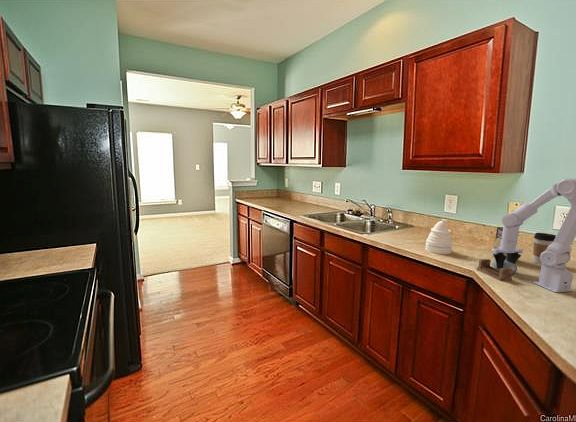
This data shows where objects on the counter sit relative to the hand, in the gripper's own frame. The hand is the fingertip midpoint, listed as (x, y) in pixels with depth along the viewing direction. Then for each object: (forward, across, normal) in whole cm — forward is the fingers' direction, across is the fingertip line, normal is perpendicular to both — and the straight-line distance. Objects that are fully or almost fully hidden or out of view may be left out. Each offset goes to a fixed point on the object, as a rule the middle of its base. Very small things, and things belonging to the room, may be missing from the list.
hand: (504, 268), depth 139 cm
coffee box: (+2, -14, -15) cm, 21 cm away
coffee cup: (+2, -30, -8) cm, 31 cm away
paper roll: (+1, 0, 0) cm, 1 cm away
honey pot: (+2, +10, -32) cm, 34 cm away
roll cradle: (+1, +8, +3) cm, 9 cm away
